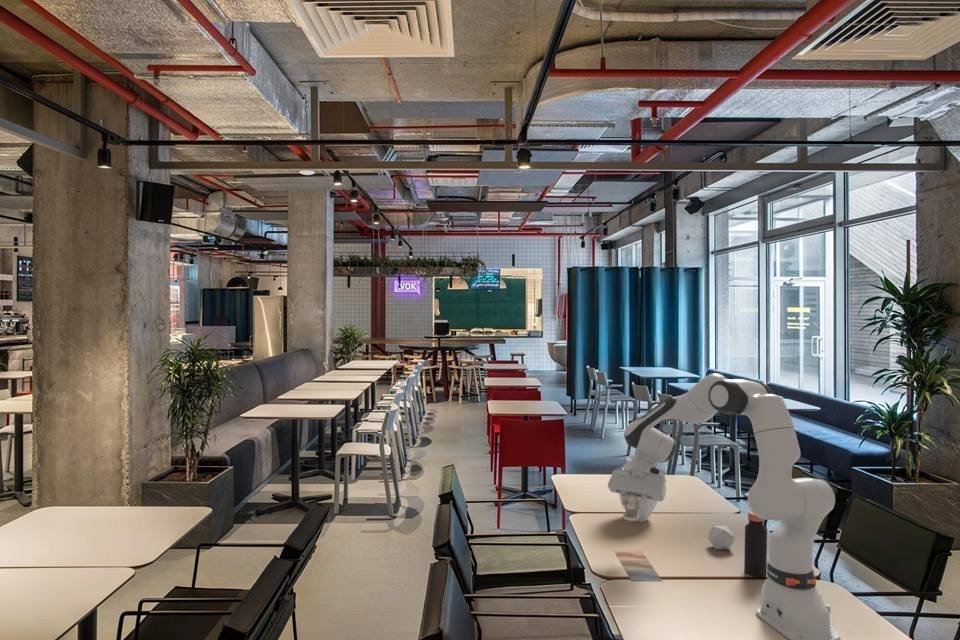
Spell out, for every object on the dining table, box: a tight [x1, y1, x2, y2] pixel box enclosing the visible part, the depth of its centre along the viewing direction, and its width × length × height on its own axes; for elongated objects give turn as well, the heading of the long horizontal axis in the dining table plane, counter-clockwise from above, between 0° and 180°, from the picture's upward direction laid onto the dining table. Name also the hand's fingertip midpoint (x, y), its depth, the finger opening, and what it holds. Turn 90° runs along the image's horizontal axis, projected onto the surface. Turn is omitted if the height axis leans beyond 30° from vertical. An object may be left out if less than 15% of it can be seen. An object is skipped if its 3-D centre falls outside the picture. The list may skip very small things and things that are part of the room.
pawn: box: [622, 494, 640, 522], centre depth 217 cm, size 6×6×9 cm
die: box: [707, 525, 736, 551], centre depth 226 cm, size 8×9×10 cm
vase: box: [618, 455, 659, 522], centre depth 256 cm, size 18×18×25 cm
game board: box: [614, 550, 663, 582], centre depth 210 cm, size 24×10×1 cm, turn 1°
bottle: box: [743, 510, 768, 578], centre depth 205 cm, size 7×7×20 cm
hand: (630, 506), depth 217 cm, fingers closed on pawn, 4 cm apart
